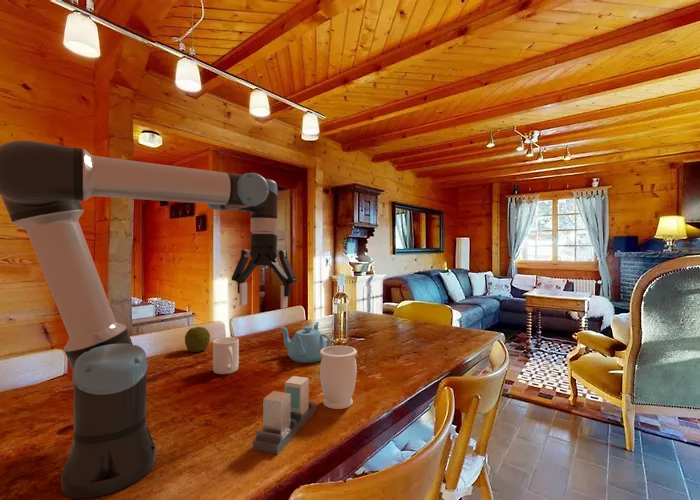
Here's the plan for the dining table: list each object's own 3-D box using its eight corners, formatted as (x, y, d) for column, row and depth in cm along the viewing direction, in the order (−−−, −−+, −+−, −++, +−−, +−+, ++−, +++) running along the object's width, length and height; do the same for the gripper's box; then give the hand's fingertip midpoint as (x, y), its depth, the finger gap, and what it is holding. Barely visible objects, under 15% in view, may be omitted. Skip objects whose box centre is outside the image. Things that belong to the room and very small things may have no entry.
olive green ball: (201, 355, 138) (201, 328, 138) (179, 353, 140) (179, 327, 140) (214, 348, 148) (214, 322, 148) (194, 346, 150) (194, 321, 150)
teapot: (277, 355, 139) (277, 325, 139) (317, 348, 150) (317, 320, 150) (294, 368, 125) (295, 334, 125) (338, 359, 135) (338, 328, 135)
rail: (277, 454, 73) (277, 407, 73) (253, 449, 75) (253, 403, 75) (315, 411, 92) (315, 374, 92) (294, 408, 94) (295, 372, 94)
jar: (336, 392, 105) (337, 343, 105) (363, 402, 98) (364, 349, 98) (311, 404, 96) (312, 350, 96) (339, 415, 90) (340, 358, 90)
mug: (218, 380, 113) (218, 347, 113) (210, 369, 123) (210, 339, 123) (244, 374, 118) (244, 343, 118) (234, 364, 128) (235, 336, 128)
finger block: (300, 417, 85) (300, 385, 85) (284, 414, 86) (284, 382, 86) (308, 408, 89) (308, 378, 89) (293, 405, 91) (293, 375, 91)
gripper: (308, 233, 100) (307, 306, 100) (235, 234, 107) (234, 301, 107) (296, 232, 92) (296, 311, 93) (219, 233, 100) (218, 305, 100)
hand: (263, 306), depth 100 cm, fingers open, 13 cm apart
